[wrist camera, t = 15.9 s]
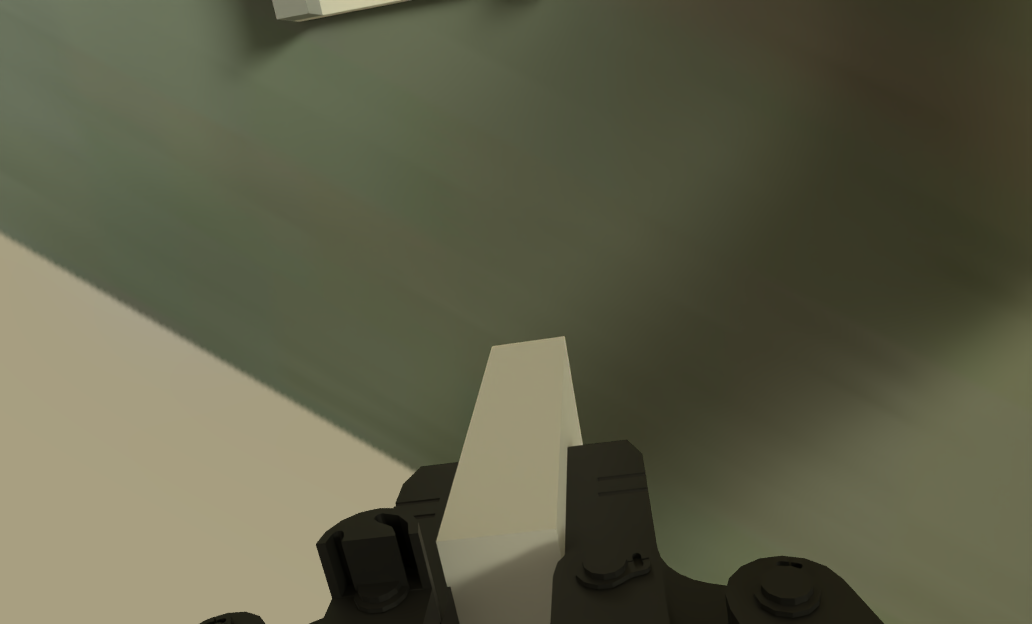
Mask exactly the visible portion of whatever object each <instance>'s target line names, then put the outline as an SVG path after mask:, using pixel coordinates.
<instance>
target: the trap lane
mask: <svg viewBox="0 0 1032 624" xmlns="http://www.w3.org/2000/svg"><path fill="white" fill-rule="evenodd" d="M405 1H410V0H272V2H273V6H274V10H275V14H276V18H277V20H287V21H296V22H302V21H307V20H312V19H317V18H322V17H327V16H333V15H338V14H343V13H348V12H353V11H358V10H364V9H369V8H374V7H379V6H384V5H390V4H395V3H400V2H405Z"/></svg>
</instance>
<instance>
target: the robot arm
mask: <svg viewBox="0 0 1032 624" xmlns="http://www.w3.org/2000/svg"><path fill="white" fill-rule="evenodd" d="M316 546H317V550H318V553H319V556H320V560H321V563H322V566H323V570H324V573H325V576H326V579H327V582H328V586H329V589H330V593H331V596H332V600H331V603H330V605H329V607H328V609H327V612H326V614H325V616H324V618H322V619H319V620H317V621H315V622H312V623H310V624H884V623H883V622H882V621H881V620H880V619H879V618H878V616H877V615H876V614H875V613H874V612H873V611H872V610H871V609H870V608H869V607H868V606H867V604H866V603H865V602H864V601H863V600H862V599H861V598H860V597H859V596H858V595H857V594H856V593H855V591H854V590H853V589H852V588H851V587H850V586H849V585H848V584H847V583H846V582H845V581H844V579H842V578H841V577H840V576H838V575H837V574H836V573H834V572H833V571H832V570H831V569H829V568H828V567H827V566H824V565H821V564H818V563H816V562H813V561H810V560H808V559H805V558H796V557H788V556H776V557H768V558H760V559H757V560H755V561H753V562H750V563H748V564H746V565H743V566H741V567H740V568H739V569H738V570H737V571H736V572H735V573H734V574H733V575H732V576H731V577H730V578H729V581H728V584H727V586H725V585H718V584H710V583H706V582H701V581H697V580H693V579H690V578H688V577H686V576H683V575H681V574H679V573H677V572H676V571H674V570H673V569H672V568H670V567H669V566H668V565H667V564H666V563H665V562H664V561H663V559H662V558H661V557H660V554H659V551H658V549H657V544H656V538H655V531H654V525H653V519H652V513H651V506H650V500H649V494H648V488H647V481H646V475H645V469H644V463H643V456H642V453H641V452H640V451H638V450H637V449H636V448H635V447H634V446H633V445H632V444H631V443H630V442H629V441H628V440H620V441H612V442H604V443H595V444H587V445H583V443H582V437H581V431H580V425H579V419H578V413H577V407H576V401H575V395H574V389H573V383H572V377H571V371H570V365H569V359H568V353H567V347H566V341H565V336H562V337H555V338H548V339H540V340H533V341H526V342H519V343H512V344H504V345H497V346H492V348H491V352H490V355H489V359H488V362H487V366H486V369H485V373H484V376H483V380H482V383H481V387H480V390H479V394H478V397H477V401H476V404H475V408H474V411H473V415H472V418H471V422H470V425H469V428H468V432H467V435H466V439H465V442H464V446H463V449H462V453H461V456H460V460H459V462H455V463H447V464H439V465H430V466H422V467H420V468H419V469H418V470H417V471H416V472H415V473H414V474H413V475H412V476H411V477H410V478H409V479H408V480H407V481H406V482H405V483H404V484H403V486H402V488H401V491H400V493H399V496H398V498H397V501H396V507H394V508H379V509H374V510H370V511H365V512H361V513H358V514H356V515H354V516H351V517H349V518H347V519H344V520H342V521H340V522H339V523H338V524H336V525H335V526H333V527H332V528H331V529H329V530H328V531H326V532H325V534H324V535H323V536H322V537H321V538H320V540H319V541H318V542H317V544H316ZM200 624H265V623H264V621H263V620H262V619H261V617H260V616H257V615H255V614H251V613H248V612H235V613H226V614H223V615H220V616H217V617H213V618H210V619H207V620H205V621H203V622H202V623H200Z"/></svg>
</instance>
